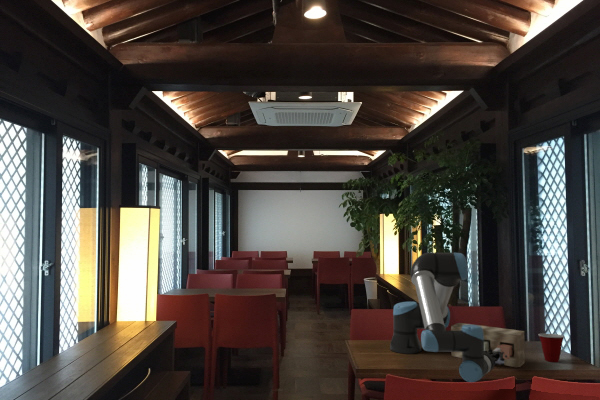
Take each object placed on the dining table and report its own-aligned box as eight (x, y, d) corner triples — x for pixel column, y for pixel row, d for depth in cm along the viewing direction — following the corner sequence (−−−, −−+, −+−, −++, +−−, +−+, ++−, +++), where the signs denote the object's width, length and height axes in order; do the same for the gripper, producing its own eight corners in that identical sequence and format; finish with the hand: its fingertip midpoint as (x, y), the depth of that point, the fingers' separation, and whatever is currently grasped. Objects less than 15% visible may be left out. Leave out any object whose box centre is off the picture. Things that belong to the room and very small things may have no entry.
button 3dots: (496, 357, 203) (496, 346, 203) (501, 353, 210) (501, 342, 210) (508, 359, 200) (508, 347, 200) (513, 355, 207) (513, 344, 207)
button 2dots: (473, 353, 209) (473, 342, 209) (479, 350, 216) (478, 339, 216) (484, 355, 206) (484, 344, 206) (490, 351, 213) (490, 340, 213)
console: (451, 356, 222) (451, 326, 223) (459, 351, 230) (458, 322, 231) (519, 367, 204) (518, 335, 204) (524, 362, 212) (524, 331, 213)
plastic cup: (560, 358, 219) (559, 332, 220) (568, 364, 209) (568, 337, 209) (535, 356, 221) (534, 331, 222) (542, 363, 211) (541, 336, 212)
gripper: (464, 370, 182) (483, 357, 201) (499, 376, 174) (515, 363, 193) (464, 350, 182) (482, 340, 201) (499, 356, 174) (515, 344, 193)
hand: (498, 351), depth 197 cm, fingers closed
